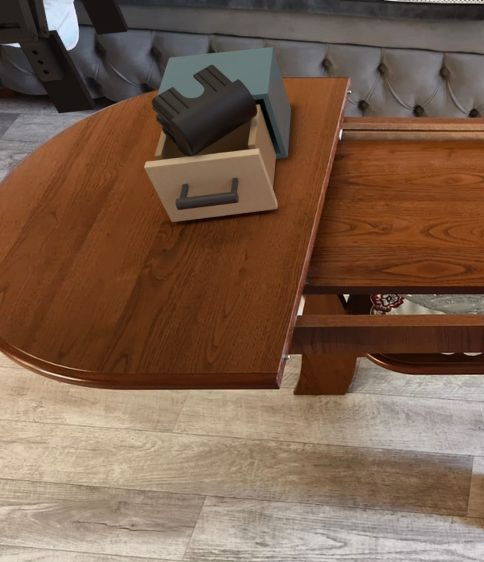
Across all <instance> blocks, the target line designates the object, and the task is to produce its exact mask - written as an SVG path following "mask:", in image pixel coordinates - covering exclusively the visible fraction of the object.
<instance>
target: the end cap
mask: <svg viewBox="0 0 484 562" xmlns="http://www.w3.org/2000/svg"><path fill="white" fill-rule="evenodd" d="M193 77H194V78H195V79H196V80H197V81H198V82H199V83H200V84H201V85H202V86H203V87H204V92H203V94H202V95H200V96H199V97H196V98H187V97H184V96H183V95H181V94H180V93H179V92H178V91H177V90H176V89H175V88H174V87H171V88H170V89H168V90H166V91H164V92H163V93H161V94H159V95H158V94H156V95H155V96H154V97H153V98H152V100H151V105H152V107H151V109H152V110H153V111H154V112H155V113H156V115H155V117H156V122H157V123H158V124H159V125H160V126H161V132H162V131H163V133H164V134H165V135H166V136H167V137H168V138H169V139H170V140H171V141H173V142H174V143H175V144H176V145H177V147H178V150H180V151H181V152H182V153H183V154H185V155H186V156H189V157H191V156H195V155H196V154H198V153H199V152H201V151H202V150H204V149H206V148H207V147H209V146H210V145H212V144H213V143H215V142H217V141H218V140H220V139H221V138H223V137H224V136H226V135H227V134H229V133H231V132H232V131H234V130H235V129H237V128H238V127H240V126H241V125H243V124H245V123H246V122H248V121H249V120H251V119H252V118H254V117H255V116H256V115H257V106H256V103H255V101H254V98H253V97H252V95H251V93H250V92H249V90H248V89H247V88H246V86H245V85H244V84H243V83H242V82H241V81H240V80H239V79H237V80H236V81H234V82H232V81H230V80H229V79H228V78H227V77H226V76H225V75H224V74H223V73H222V72H221V71H219V70H218V69H217V68H216V67H215V66H214V65H210V66H208V67H206V68H204V69H203V70H201V71H199V72H197V73H196V74H194V75H193ZM157 113H158V114H157Z"/></svg>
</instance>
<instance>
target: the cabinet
mask: <svg viewBox="0 0 484 562" xmlns="http://www.w3.org/2000/svg"><path fill="white" fill-rule="evenodd" d="M210 65H214V66H215V67H216V68H217V69H218V70H219V71H221V72H222V73H223V74H224V75H225V76H226V77H227V78H228V79H229V80H230V81H232V82H234V81H236V80H237V79H239V80H240V81H241V82H242V83H243V84H244V85H245V86H246V88H247V89H248V90H249V92H250V93H251V95H252V97H253V98H254V101H255V103H256V105H260V107H261V110H262V114H263V117H264V120H265V123H266V126H267V129H268V132H269V135H270V138H271V141H272V144H273V147H274V150H275V154H276V160H278V159H279V160H280V159H286V158H288V156H289V145H290V144H289V143H290V132H291V131H290V130H291V116H292V108H291V105H290V104H291V103H290V100H289V97H288V93H287V91H286V87H285V84H284V80H283V76H282V74H281V70H280V66H279V62H278V59H277V55H276V52H275V49H274V47H273V46H270V47H269V46H268V47H260V48H250V49H240V50H230V51H220V52H212V53H211V52H210V53H201V54H200V53H199V54H191V55H183V56H171V57H168V60H167V64H166V67H165V70H164V73H163V76H162V78H161V83H160V85H159V88H158V92H157V95H159V94H161V93H163V92H164V91H166V90H168V89H170V88H171V87H174V88H175V89H176V90H177V91H178V92H179V93H180V94H181V95H183V96H184V97H187V98H196V97H199V96H200V95H202V94H203V92H204V87H203V86H202V85H201V84H200V83H199V82H198V81H197V80H196V79H195V78H194V77H193V75H194V74H196V73H197V72H199V71H201V70H203V69H204V68H206V67H208V66H210ZM156 115H158V113H157V112H156Z"/></svg>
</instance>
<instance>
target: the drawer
mask: <svg viewBox="0 0 484 562" xmlns="http://www.w3.org/2000/svg"><path fill="white" fill-rule="evenodd" d="M256 106H257V115H256V116H255V117H254V118H252V119H251V120H249V121H248V122H246V123H245V124H243V125H241V126H240V127H238V128H237V129H235V130H234V131H232V132H231V133H229V134H227V135H226V136H224V137H223V138H221V139H220V140H218V141H217V142H215V143H213V144H212V145H210V146H209V147H207V148H206V149H204V150H202V151H201V152H199V153H198V154H196V155H195V156H191V157H189V156H186V155H185V154H183V153H182V152H181V151H180V150H178V147H177V145H176V144H175V143H174V142H173V141H171V140H170V139H169V138H168V137H167V136H166V135H165V134H164V133H163V131H162V130H161V132H160V136H159V139H158V143H157V146H156V150H155V153H154V158H155V160H147V161H145V163H144V166H143V167H144V168H143V169H144V170H145V172H146V174H147V176H148V178H149V181H150V183H151V184H152V186H153V188H154V190H155V192H156V194H157V196H158V197H159V200H160V202H161V204H162V205H163V207H164V210H165V212H166V214H167V216H168V217H169V219H170V221H171V223H176V222H184V221H192V220H199V219H201V220H202V219H206V218H207V219H208V218H217V217H225V216H231V215H240V214H248V213H254V212H255V213H256V212H263V211H272V210H278V205H279V203H278V199H277V197H276V193H275V190H274V183H275V182H274V181H275V173H276V172H275V171H276V161H277V159H276V154H275V150H274V147H273V144H272V141H271V138H270V135H269V132H268V129H267V126H266V123H265V120H264V117H263V114H262V110H261V107H260V105H256Z"/></svg>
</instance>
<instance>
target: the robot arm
mask: <svg viewBox="0 0 484 562" xmlns="http://www.w3.org/2000/svg"><path fill="white" fill-rule="evenodd" d="M80 1H81V3H82V5H83V7H84V10H85V12H86V14H87V16H88V19H89V20H90V22H91V24H92V26H93V28H94V30H95V32H96V35H97V36H98V35H100V36H101V35H109V34H110V35H111V34H120V33H128V32H129V26H128V24H127V21H126V19H125V17H124V15H123V11H122V9H121V7H120V5H119V3H118V1H117V0H80ZM13 44H18V45H19V48H20V49H21V50H22V52H23V54H24V56H25V57H26V59H27V61H28V62H29V64H30V66H31V68H32V70H33V71H34V73H35V75H36V76H37V78H38V80H39V82H40V84H41V85H42V87H43V89H44V91H45V92H46V94H47V96H48V97H49V99H50V101H51V102H52V104H53V106H54V108H55V109H56V111H57V113H58V114H67V113H76V112H84V111H94V110H95V107H96V102H95V101H94V99H93V97H92V95H91V93H90V90H88V88H87V86H86V83H85V81H84V80H83V78H82V76H81V74H80V72H79V70H78V68H77V67H76V65H75V63H74V61H73V59H72V57H71V55H70V53H69V52H68V49H67V47H66V45H65V44H64V41H63V40H62V38H61V36H60V34H59V32H58V30H57V29H49V24H48V19H47V14H46V8H45V4H44V0H0V46H2V45H4V46H5V45H13Z"/></svg>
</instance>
